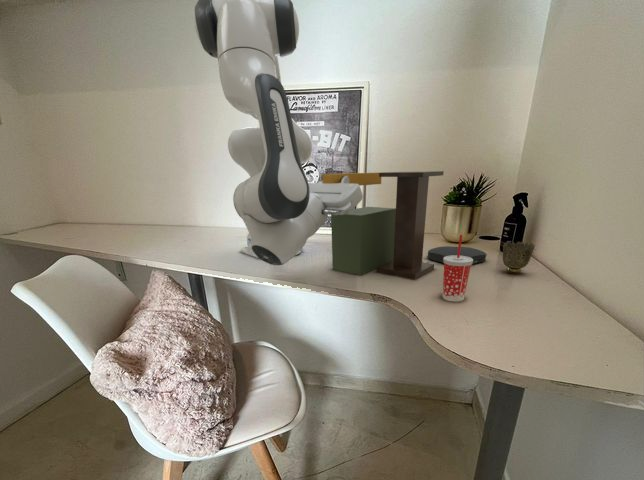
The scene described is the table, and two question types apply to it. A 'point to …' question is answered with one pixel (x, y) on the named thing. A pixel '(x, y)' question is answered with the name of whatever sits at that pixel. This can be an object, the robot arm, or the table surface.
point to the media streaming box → (445, 251)
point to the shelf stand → (409, 224)
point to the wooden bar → (354, 178)
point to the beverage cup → (456, 275)
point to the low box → (363, 239)
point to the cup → (516, 256)
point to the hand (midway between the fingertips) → (339, 178)
